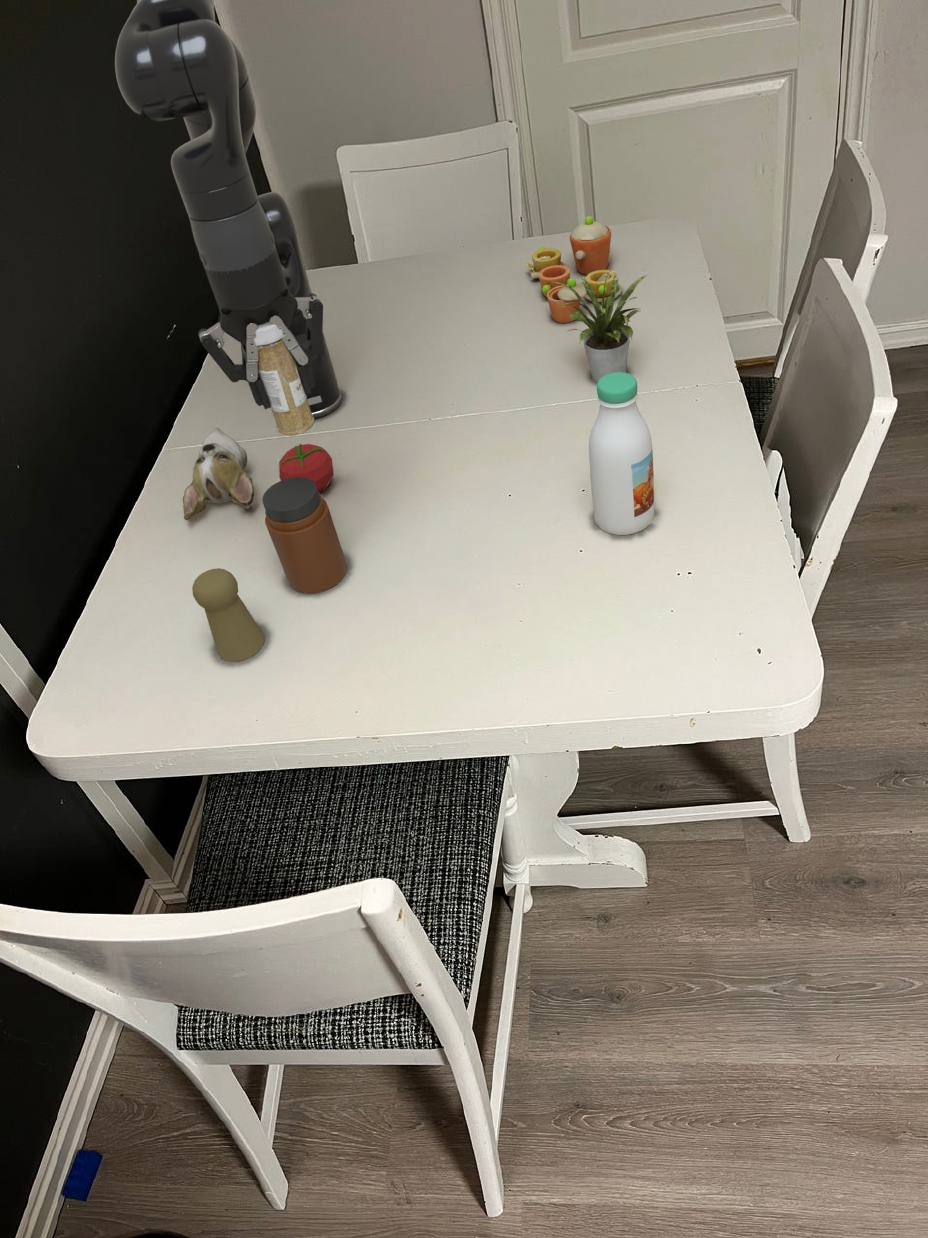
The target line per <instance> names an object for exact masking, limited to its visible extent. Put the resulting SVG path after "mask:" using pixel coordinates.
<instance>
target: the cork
mask: <svg viewBox="0 0 928 1238" xmlns="http://www.w3.org/2000/svg"><path fill="white" fill-rule="evenodd" d="M191 589H192V590H191V591H192V596H193V598H194V600H195V602H196V604H198V606H199V607H201V608H202V609H204V612H205V616H206V619H207V623H208V625H209V629H210V633H211V636H212V640H213V642H214V646H215V651H216V653H217V655H218V657H219V658H220V659H221V660H223V661H226V662H230V663H234V662H236V663H237V662H242V661H246V660H247V659H250V658H251V657H253V656H255V655H256V654H257V653H258V652H259V651H260V650H261V649H262V647H263V646H264V643H265V639H266V638H265V634H264V632H263V630H262V629H261V628H260V626H259V624H258V623H257V621H256V620H255V618H254V617H253V616H252V614H251V613H250V611H249V609H248V608H247V606H246V604H245V603H244V602H243V600H242V599H241V597H240V596H239V594H238V593H239V583H238V581H237V579H236V578H235V576H234V575H233V573H232V572H230V571H228V570H226V569H225V568H221V567H219V568H211V569H208V570H206V571H204V572H202V573H200V574H199V575H198V576H197V577H196V578H195V579H194V581H193V584H192V588H191Z"/></svg>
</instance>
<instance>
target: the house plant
mask: <svg viewBox="0 0 928 1238" xmlns="http://www.w3.org/2000/svg"><path fill="white" fill-rule="evenodd" d="M609 273H610V272H609ZM608 275H609V274H608ZM608 275H607V277H606V280H605V283H604V290H603V299H602V301H601V302H598V299H597V297H596V295H595V293H594V291H593V290H592V289H591V286H590V284H589V283H588V282H587V281H586V280H585V277H582V276H580V278H577V279H578V280H579V281H580V282H581V283H580V284H583V286H584V287H585V289H586V292H587V294H588V295H589V297H590V299H591V301H590V302H591V303H592V306H593V309H594V312H595V313H594V312H593V311H592V310H591V309H590V307H589V306H588V304H587V303H586V302H585V300H583V298H581V297H580V296H579V294H578V293H577V292H576V291H575V290H574V289H573V288H572V287H571V286H569V285H566V284H563V283H559V282H553V283H558V284H561V285H563V286H565V287H567V288H569V289H570V290H571V291H572V292H573V293H574V294H575V295H576V296H577V298H578V299H579V300H580V303H577V304H579V305H580V307H582V308H583V309H585V311H586V312H587V313H588V314H589V315H590V317H591V318H592V319H591V318H590V317H588V316H587V314H585V313H583V311H581V309H580V310H579V309H578V308H576V307H574V306H571V307H574V308H575V309H577V310H578V311H576V312H573V313H572V314H571V315H570V316H569V318H571V319H574V321H577V322H582V323H583V324H584V325H585V326H587V328H585V329H583V330H580V329H578V328H571V329H569V330H567V331H566V332H571V331H580V333H579V343H578V344H581V342H582V343H583V347H584V351H585V355H586V360H587V362H588V366H589V370H590V371H589V372H590V374H591V379H592V380H593V381H594V382H596V384H597V383H598V381H599V379H600V378H602V377H603V376H605V375H607V374H610V373H615V372H624V373H627V365H628V358H629V350H630V343H631V342H630V341H633V335H634V330H633V327H631V325H629V322H630V318H632V317H633V316H635V314H637V313H639V312H640V307H639V308H637V307H632V308H626V309H623V308H624V306H625V305H626V303H627V302H629V301H631V300H634V299H638V297H636V296H633V297H630V296H631V295H632V294H633V293H634V291H635V290H636V287H637V286H638V284H639V283H641V281H643V280H644V279H645V278H646V277H647V276H648V274H647V275H644V276H641V277H639V278H637V279H636V280H634V281H633V282H632V283H631V284H630V286H629V287H628V288H627V289H626V291H625V292H623V294H622V295H621V297H620V299H619V300H618V303H617V306H616V308H615V310H614V305H615V299H616V298H615V295H616V288H617V287H618V286H617V287H616V280H617V276H615V274H614V277H613V283H612V286H611V292H610V293H611V295H610V294H609V295H610V297H606V298H604V296H605V286H606V281H607V278H608ZM609 295H608V296H609ZM569 303H575V302H569ZM569 303H565V304H569ZM565 304H563V305H565ZM563 305H562V306H563ZM564 307H567V306H564ZM562 308H563V307H562ZM613 311H614V312H613ZM627 312H628V313H627ZM626 313H627V314H626ZM625 314H626V315H625Z"/></svg>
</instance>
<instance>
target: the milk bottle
mask: <svg viewBox="0 0 928 1238" xmlns="http://www.w3.org/2000/svg"><path fill="white" fill-rule="evenodd" d="M596 394H597V402H598V403H599V408H598V412H597V416H596V419H595V420H594V422H593V425H592V427H591V430H590V434H589V439H588V462H589V475H590V476H589V477H590V487H591V488H590V489H591V490H590V491H591V501H592V512H593V519H594V522H595V523H596V526H598V527H599V528H600V529H601V530H602V531H604V532H606V533H609V534H611V535H618V536H627V535H633V534H637V533H639V532H641V531H643V530H645V529H646V528H647V527H648V526H650V524H652V521H653V520H654V517H655V482H654V481H655V480H654V477H655V476H654V453H653V442H652V435H651V431H650V428H649V426H648V424H647V421H646V420H645V419H644V416H643V415H642V414H641V412H640V410H639V407H638V405H637V400H638V395H639V394H638V380H637V378H636V377H635V376H634V375H633V374H631V373H628V372H626V373H624V372H615V373H610V374H607V375H605V376H603V377H602V378H600V379H599V381H598V383H597V382H596Z"/></svg>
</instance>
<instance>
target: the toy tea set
mask: <svg viewBox="0 0 928 1238" xmlns="http://www.w3.org/2000/svg"><path fill="white" fill-rule="evenodd" d="M611 242H612V231H611V228H610V227H608V226H607V225H605V224H603V223H602V222H599V221H597V220H594V218H593V217H592V216H591V215H588V216H586V217H585V218H584V222H581V223H580V224H578V225H577V226H576V227H575V228H574V229H573V230H572V232H571V233H570V234H569V243H570V247H571V250H572V254H573V259H574V262H575V263H574V264H575V267H576V270H577V272H578V273H579V274H582V275H586V276H585V277H584V279H585V280H586V281H587V282H588V283H589V284H590V286H591V289H592V290H593V291H594V293H595V295H596V297H597V299H598V302H599V303H601V301H602V299H603V290H604V283H605V280H606V277H607V275H608V274H609V275H608V278H607V281H606V286H605V296H604V298H606V297H610V295H611V293H610V292H611V286H612V283H613V277H614V274H615V276H616V287H617V286H618V287H617V288H616V295H615V299H617V298H618V297H619V296H620V295H621V293H622V286H621V285H620V284H619V281H620V280H619V275H618V273H617V272H616V271H615V270H610V269H608V267H609V264H610V254H611V253H610V251H611ZM531 260H532V263H533V265H532V264H531V263H529V262H528V261H526V265H527V268H529V269H530V270H529V272H530V278H531V279H539V284H540V287H541V291H542V294H543V296H544V297H545V298H547V302H548V305H549V309H550V312H551V317H552V319H553V321H554V322H556V323H561V324H564V323H565V324H566V323H571V322H573V321H575V320H574V319H571V318H569V316H570V315H571V314H572V313H573V312H576V311H578V310H577V309H575V308H574V307H576V308H578V309H579V310H580V311H581V305H579V304H577V303H581V301H580V300H579V299H578V298H577V296H576V295H575V294H574V293H573V292H572V291H571V290H570V289H569V288H567V287H565V286H563V285H561V284H558V283H553V282H559V283H563V284H566V285H569V286H571V287H572V288H573V289H574V290H575V291H576V292H577V293H578V294H579V296H580V297H581V298H582V299H583V298H584V299H585V300H587V301H589V302H592V301H591V299H590V297H589V295H588V294H587V292H586V289H585V287H584V286H583V284H582V283H577V280H576V279H575V278H574V277H571V269H570V268H569V266H567V265H566V263H565V262H563V261H561V260H562V252H561V250H559V249H558V248H554V247H549V248H548V247H547V248H546V247H544V246H540V247H539V248H538V249H537V250H536V251H534V252H533V253H532V255H531ZM609 272H610V273H609ZM609 294H610V295H609ZM608 295H609V296H608ZM569 302H575V303H569ZM565 303H569V304H565ZM563 304H565V305H563ZM562 305H563V306H562ZM564 306H567V307H564ZM571 306H574V307H571ZM562 307H563V308H562Z"/></svg>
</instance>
